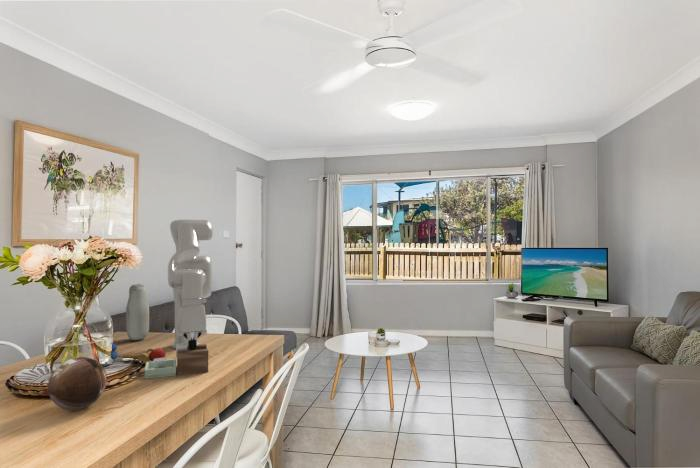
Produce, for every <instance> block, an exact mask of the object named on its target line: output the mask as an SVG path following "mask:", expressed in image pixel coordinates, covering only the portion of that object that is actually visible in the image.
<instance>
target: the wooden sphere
mask: <svg viewBox="0 0 700 468" xmlns="http://www.w3.org/2000/svg"><path fill="white" fill-rule="evenodd" d="M107 382H108V381H107V372H106V370H105V368H104V365H101V364H100V363H99V361H98V360H94V359H93V358H90V357H84V356H81V357H79V356H78V357H74V358H70V359H68V360H65V361H64V362H63V363H61V364H59V365H58V367H56V368H55V370H53V371H52V373H51V375H50V378H49V380H48V383H47V392H48V396H49V398H50V399H51V401H52V402H53V404H55V405H56V406H58V407H59V408H61V409H64V410H67V411H74V410H75V411H76V410H81V409H84V408H87V407H88V406H91V405H92V404H94V403H95V402H96V401H98V399H100V397H101V396H102V395H103V393H104V390H105V389H106V385H107Z"/></svg>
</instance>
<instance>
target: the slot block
mask: <svg viewBox="0 0 700 468" xmlns="http://www.w3.org/2000/svg"><path fill="white" fill-rule="evenodd" d="M207 347H208V345H207V343H200V344H198V345H197V348H195V350H193V349H192V350H191V351H190V348H188V345H187V351H179V352H177V357H176V376H182V375H190V374H191V375H192V374H200V373H209V349H208V348H207Z"/></svg>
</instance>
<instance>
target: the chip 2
mask: <svg viewBox="0 0 700 468" xmlns="http://www.w3.org/2000/svg"><path fill="white" fill-rule="evenodd" d="M179 351H187V343H180V344H176V348H175V357H176V358H177V352H179Z"/></svg>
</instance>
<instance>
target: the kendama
mask: <svg viewBox="0 0 700 468" xmlns="http://www.w3.org/2000/svg"><path fill="white" fill-rule="evenodd" d="M164 357H165V358H166V352H165V351H164V350H163V349H162V348H159V347H158V348H153V347H151V348H149V349H147V351H146V352H142V353H140V354H138V353H137V354H122V357H121V359H122V358H133V359H138V360H137V362H138V361H143V362H144V363H145V366H146V363H147V362H150V361H154V359H156V358H164Z"/></svg>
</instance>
